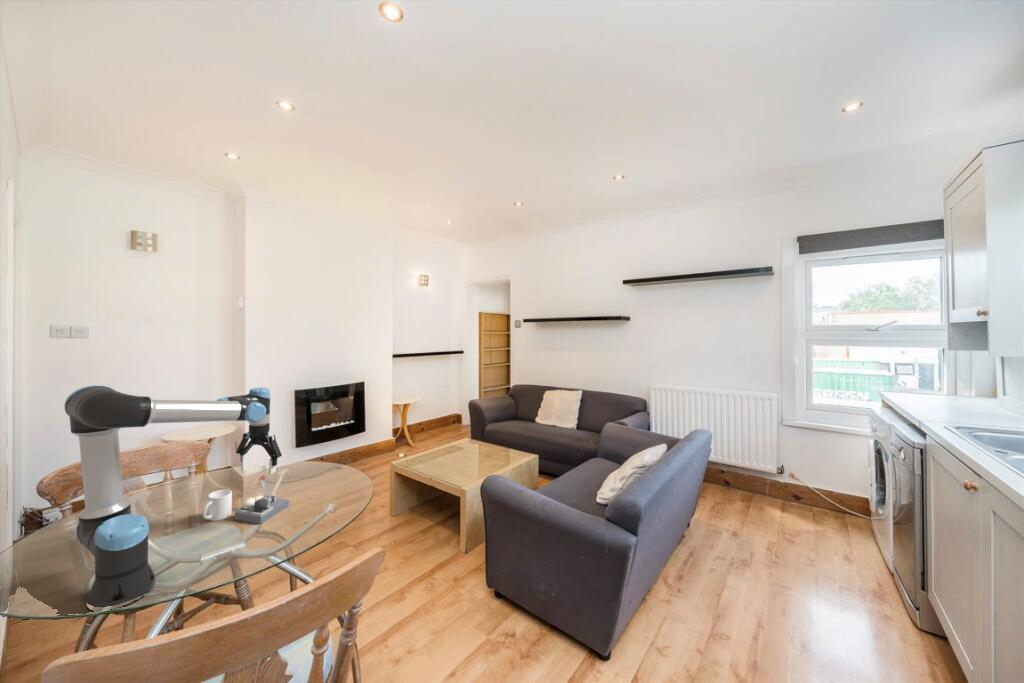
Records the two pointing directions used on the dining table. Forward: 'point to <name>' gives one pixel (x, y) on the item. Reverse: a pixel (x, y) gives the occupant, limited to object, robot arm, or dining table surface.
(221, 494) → the mug
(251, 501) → the button ivory
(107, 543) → the robot arm
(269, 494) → the lever
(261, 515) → the panel
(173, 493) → the dining table surface
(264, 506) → the button black
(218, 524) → the dining table surface
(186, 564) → the dining table surface
